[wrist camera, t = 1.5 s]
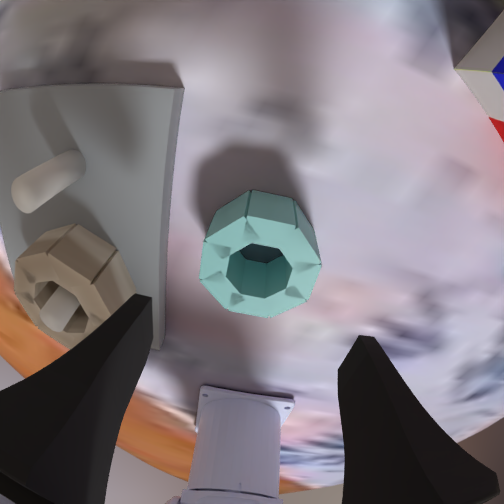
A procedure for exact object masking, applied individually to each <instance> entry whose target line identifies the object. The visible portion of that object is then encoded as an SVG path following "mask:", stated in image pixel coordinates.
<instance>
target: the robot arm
mask: <svg viewBox="0 0 504 504" xmlns="http://www.w3.org/2000/svg"><path fill="white" fill-rule="evenodd" d="M152 341H153V311H152V297H149V296H145V295H141V294H136V293H135V294H134V295H132V296H131V297H130V298H129V299H128V300H127V301H126V302H125V303H124V304H123V305H122V306H121V307H120V308H118V309H117V310H116V311H115V312H114V313H113V314H112V315H111V316H110V317H109V318H108V319H107V320H105V321H104V322H103V323H102V324H101V325H100V326H99V327H97V328H96V329H95V330H94V331H93V332H92V333H91V334H89V335H88V336H87V337H86V338H84V339H83V340H82V341H81V342H79V343H78V344H77V345H76V346H74V347H73V348H72V349H71V350H69V351H68V352H67V353H65V354H64V355H62V356H61V357H60V358H58V359H57V360H55V361H54V362H52V363H51V364H49V365H48V366H46V367H44V368H43V369H41V370H40V371H38V372H36V373H35V374H33V375H31V376H29V377H28V378H26V379H24V380H22V381H20V382H18V383H16V384H14V385H12V386H10V387H8V388H6V389H4V390H1V391H0V504H104V503H105V496H106V489H107V482H108V477H109V472H110V467H111V462H112V458H113V453H114V449H115V445H116V441H117V437H118V433H119V430H120V426H121V422H122V420H123V417H124V414H125V411H126V409H127V406H128V404H129V402H130V399H131V397H132V394H133V392H134V390H135V387H136V385H137V383H138V380H139V378H140V376H141V373H142V371H143V368H144V366H145V364H146V361H147V358H148V354H149V351H150V348H151V344H152ZM338 400H339V408H340V416H341V424H342V432H343V441H344V453H345V466H344V487H343V498H342V504H483V503H485V502H487V501H489V500H490V499H492V498H494V497H496V496H497V495H499V493H500V489H499V483H498V479H497V475H496V473H495V472H494V471H492V470H491V469H489V468H488V467H486V466H485V465H483V464H482V463H480V462H479V461H477V460H476V459H475V458H473V457H472V456H471V455H470V454H468V453H467V452H466V451H465V450H463V449H462V448H461V447H460V446H459V445H458V444H457V443H456V442H455V441H454V440H453V439H452V438H451V437H450V436H449V435H447V434H446V433H445V431H444V430H443V429H442V428H441V427H440V426H439V425H438V424H437V423H436V422H435V421H434V419H433V418H432V417H431V416H430V415H429V414H428V412H427V411H426V410H425V409H424V407H423V406H422V405H421V404H420V402H419V401H418V400H417V398H416V397H415V396H414V394H413V393H412V391H411V390H410V389H409V387H408V386H407V384H406V383H405V382H404V380H403V379H402V377H401V376H400V374H399V373H398V371H397V370H396V368H395V367H394V365H393V364H392V362H391V361H390V359H389V358H388V356H387V355H386V353H385V352H384V350H383V349H382V347H381V346H380V344H379V343H378V342H377V340H376V339H375V338H374V337H371V336H363V335H359V336H358V338H357V340H356V341H355V343H354V345H353V346H352V348H351V349H350V351H349V353H348V354H347V356H346V358H345V359H344V361H343V362H342V364H341V365H340V367H339V369H338ZM294 406H295V401H294V400H293V399H287V398H279V397H271V396H264V395H257V394H250V393H244V392H238V391H232V390H226V389H221V388H215V387H210V386H202V387H201V388H200V394H199V402H198V410H197V418H196V427H195V431H196V432H197V438H196V444H195V449H194V454H193V460H192V465H191V470H190V476H189V481H188V487H187V490H186V489H183V490H182V496H181V497H179V496H174V497H172V499H170V500H168V501H167V502H166V503H165V504H283V499H279V472H280V435H281V426H282V425H283V423H284V422H285V420H286V419H287V417H288V415H289V414H290V412H291V411H292V409H293V407H294Z"/></svg>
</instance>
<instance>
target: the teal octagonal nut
mask: <svg viewBox="0 0 504 504" xmlns="http://www.w3.org/2000/svg"><path fill="white" fill-rule="evenodd" d="M251 243H254V244H259V245H264V246H269V247H274V248H279V249H280V251H281V252H282V253H283V255H282V256H280V257H278V258H276V259H274V260H272V261H270V262H269V263H262V262H257V261H252V260H247V259H245V258H244V256H243V255H242V254H241V253H240V251H239V250H240V249H242V248H244V247H246V246H248V245H249V244H251ZM321 266H322V265H321V259H320V254H319V249H318V245H317V241H316V236H315V232H314V230H313V228H312V226H311V225H310V223H309V222H308V220H307V218H306V217H305V215H304V214H303V212H302V211H301V209H300V207H299V206H298V204H297V203H296V201H295V200H294V201H293V199H292V198H288V197H284V196H279V195H275V194H270V193H265V192H260V191H255V190H252V193H251V192H250V191H247V192H246V193H244V194H243V195H241V196H239V197H238V198H236V199H234V200H233V201H231V202H230V203H228V204H226V205H225V206H223V207H222V208H220V209H218V210H217V211H216V213H215V215H214V217H213V220H212V222H211V224H210V227H209V229H208V232H207V234H206V237H205V239H204V242H203V249H202V257H201V265H200V274H199V279H200V282H201V283H202V284H203V285H204V286H205V287H206V289H207V290H208V291H209V292H210V293H211V294H212V295H213V296H214V297H215V298H216V300H217V301H218V302H219V303H220V304H221V305H222V306H223V307H224V308H225V309H227V308H228V311H232V312H237V313H243V314H248V315H253V316H259V317H264V318H268V316H270V318H272V317H274V316H276V315H278V314H281V313H283V312H285V311H287V310H289V309H292V308H294V307H296V306H298V305H300V304H303V303H305V302H307V301H306V299H307V300H309V297H310V295H311V292H312V290H313V287H314V284H315V282H316V279H317V277H318V274H319V271H320V269H321Z"/></svg>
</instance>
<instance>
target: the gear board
mask: <svg viewBox="0 0 504 504" xmlns="http://www.w3.org/2000/svg"><path fill="white" fill-rule="evenodd" d="M183 94H184V88H178V87H168V86H155V85H139V84H106V83H91V84H59V85H44V86H32V87H22V88H13V89H6V90H1V91H0V225H1V230H2V235H3V239H4V244H5V248H6V252H7V256H8V260H9V264H10V267H11V271H12V274H13V278H14V274H15V260H16V259H17V258H18V257H19V256H20V255H21V254H22V253H23V252H24V251H25V250H26V249H27V248H28V247H29V246H31V245H32V244H33V243H34V242H35V241H36V240H37V239H38V238H39V237H40V236H41V235H43V234H44V233H45V232H46V231H50V230H53V229H57V228H60V227H64V226H67V225H71V224H76V226H77V225H78V224H79V225H81V226H82V227H84V228H85V229H87V230H88V231H90V232H92V233H93V234H95V235H96V236H98V237H99V238H101V239H103V240H104V241H106V242H107V243H109V244H111V245H112V246H114V247H116V250H115V251H119V252H120V255H121V257H122V259H123V261H124V264H125V266H126V268H127V270H128V272H129V274H130V277H131V279H132V281H133V283H134V285H135V287H136V294H141V295H145V296H149V297H152V311H153V341H152V344H151V348H150V349H154V350H158V351H160V348H161V345H162V343H163V340H164V337H165V302H166V268H167V247H168V230H169V216H170V203H171V191H172V181H173V171H174V161H175V152H176V144H177V136H178V128H179V121H180V114H181V107H182V100H183ZM79 305H80V303H79V301H78V299H77V297H76V296H75V295H74V294H72V293H70V292H69V291H67V290H66V289H64V288H63V287H61V286H59V287H58V288H57V289H56V291H55V292H54V293H53V295H52V296H51V297H50V298H49V300H48V301H47V302H46V304H45V305H44V306H43V308H42V309H41V310H40V312H39V315H40V318H41V320H42V321H43V323H44V324H45V325H46V326H47V327H48V328H50V329H51V330H53V331H56V332H61V331H62V330H63V329H64V327H65V326H66V324H67V323H68V321H69V320H70V318H71V317H72V315H73V314H74V312H75V311H76V309H77V308H78V306H79Z"/></svg>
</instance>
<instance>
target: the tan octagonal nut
mask: <svg viewBox="0 0 504 504" xmlns="http://www.w3.org/2000/svg"><path fill="white" fill-rule="evenodd" d="M115 250H116V247H114V246H112V245H111V244H109V243H107V242H106V241H104V240H103V239H101V238H99V237H98V236H96V235H95V234H93V233H92V232H90V231H88V230H87V229H85V228H84V227H82V226H81V225H79V224H78V225H77V226H76V224H71V225H67V226H64V227H60V228H57V229H53V230H50V231H46V232H45V233H44V234H43V235H41V236H40V237H39V238H38V239H37V240H36V241H35V242H34V243H33V244H32V245H31V246H29V247H28V248H27V249H26V250H25V251H24V252H23V253H22V254H21V255H20V256H19V257H18V258H17V259H16V260H15V274H14V291H15V294H16V296H17V298H18V299H19V301H20V303H21V304H22V306H23V307H24V309H25V311H26V312H27V314H28V315H29V317H30V318H31V320H32V321H33V323H34V324H35V326H38V329H40V330H41V331H43V332H44V333H45V334H47V335H48V336H50V337H51V338H53V339H54V340H56V341H58V342H59V343H61V344H62V345H64V346H65V347H67V348H69V349H70V350H71V349H72V348H73V347H74V346H76V345H77V344H78V343H79V342H81V341H82V340H83V339H84V338H86V337H87V336H88V335H89V334H91V333H92V332H93V331H94V330H95V329H96V328H97V327H99V326H100V325H101V324H102V323H103V322H104V321H105V320H107V319H108V318H109V317H110V316H111V315H112V314H113V313H114V312H115V311H116V310H117V309H118V308H120V307H121V306H122V305H123V304H124V303H125V302H126V301H127V300H128V299H129V298H130V297H131V296H132V295H134V294H135V293H136V287H135V285H134V283H133V281H132V279H131V277H130V274H129V272H128V270H127V268H126V266H125V264H124V261H123V259H122V257H121V255H120V252H119V251H115ZM59 286H61V287H63V288H64V289H66V290H67V291H69V292H70V293H72V294H74V295H75V296H76V297H77V299H78V301H79V303H80V305H79V306H78V308H77V309H76V311H75V312H74V314H73V315H72V317H71V318H70V320H69V321H68V323H67V324H66V326H65V327H64V329H63V330H62V331H61V332H56V331H53V330H51V329H50V328H48V327H47V326H46V325H45V324H44V323H43V321H42V320H41V318H40V315H39V312H40V310H41V309H42V308H43V306H44V305H45V304H46V302H47V301H48V300H49V298H50V297H51V296H52V295H53V293H54V292H55V291H56V289H57V288H58V287H59Z"/></svg>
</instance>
